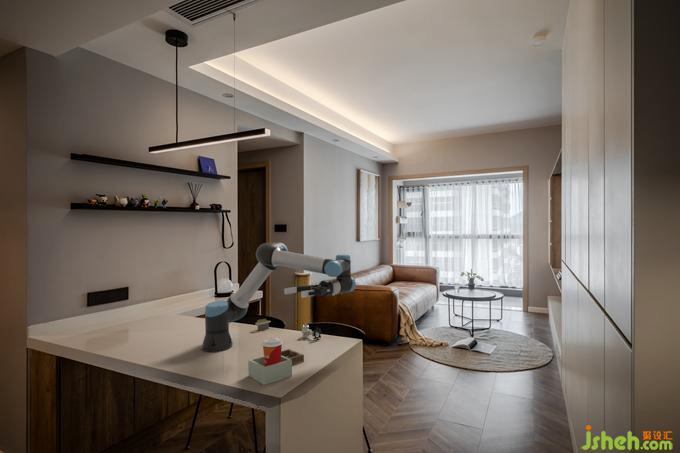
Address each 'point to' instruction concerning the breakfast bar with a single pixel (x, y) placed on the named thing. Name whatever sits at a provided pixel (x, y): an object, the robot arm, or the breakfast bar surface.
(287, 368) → the box
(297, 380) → the breakfast bar surface
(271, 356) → the coffee cup
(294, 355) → the walnut collar
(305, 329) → the valve
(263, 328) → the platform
